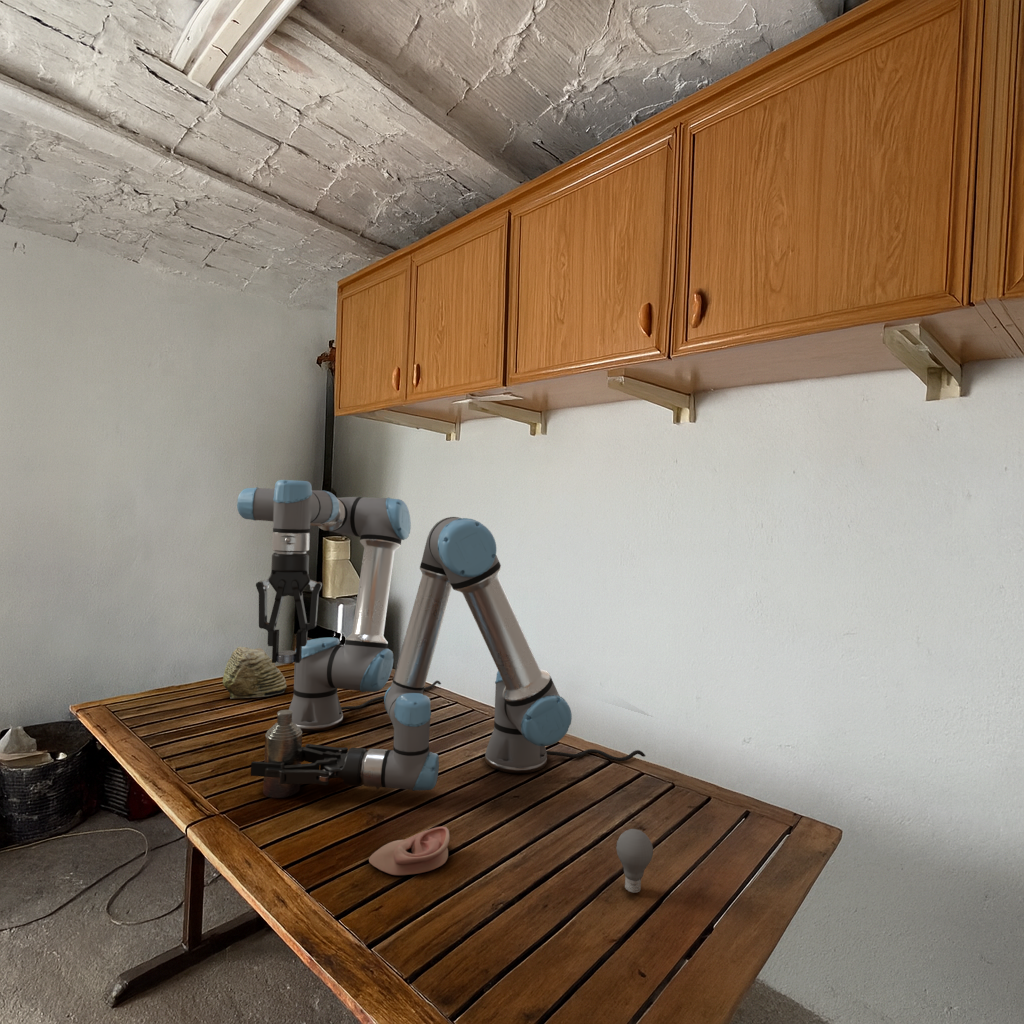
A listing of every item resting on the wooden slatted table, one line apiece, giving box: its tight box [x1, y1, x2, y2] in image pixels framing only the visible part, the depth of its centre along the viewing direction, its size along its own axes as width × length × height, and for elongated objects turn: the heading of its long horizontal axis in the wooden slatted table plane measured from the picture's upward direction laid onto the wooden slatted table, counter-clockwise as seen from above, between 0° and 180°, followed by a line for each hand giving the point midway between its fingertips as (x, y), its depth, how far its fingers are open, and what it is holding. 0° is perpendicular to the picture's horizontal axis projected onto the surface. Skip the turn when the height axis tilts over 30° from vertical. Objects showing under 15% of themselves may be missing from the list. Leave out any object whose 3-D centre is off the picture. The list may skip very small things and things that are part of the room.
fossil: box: [222, 646, 288, 699], centre depth 198 cm, size 9×18×15 cm, turn 132°
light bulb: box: [615, 828, 654, 894], centre depth 106 cm, size 6×6×10 cm
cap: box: [276, 649, 296, 664], centre depth 136 cm, size 4×4×2 cm
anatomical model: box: [368, 826, 451, 876], centre depth 112 cm, size 13×4×12 cm
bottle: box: [262, 709, 303, 799], centre depth 136 cm, size 7×7×17 cm
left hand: (286, 660), depth 136 cm, fingers closed on cap, 4 cm apart
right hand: (260, 760), depth 136 cm, fingers closed on bottle, 7 cm apart
